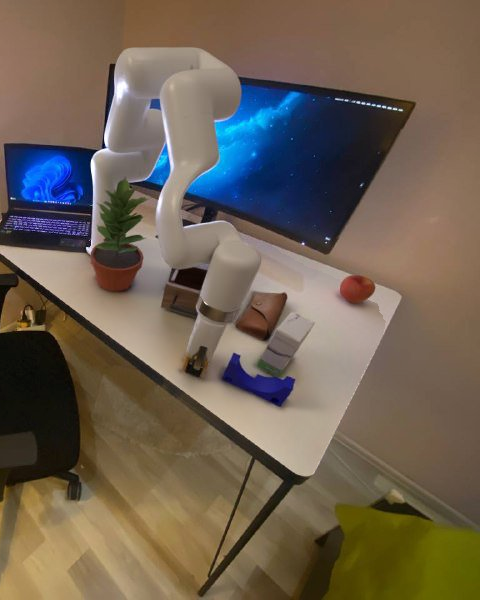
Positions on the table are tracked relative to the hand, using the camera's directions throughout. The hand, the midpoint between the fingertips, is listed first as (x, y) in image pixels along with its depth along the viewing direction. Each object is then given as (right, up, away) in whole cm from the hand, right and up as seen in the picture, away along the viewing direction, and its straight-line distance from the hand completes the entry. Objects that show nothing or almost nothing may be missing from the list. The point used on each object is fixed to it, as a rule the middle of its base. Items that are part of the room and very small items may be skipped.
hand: (194, 364), depth 77 cm
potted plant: (-16, +20, +24) cm, 35 cm away
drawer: (+3, +13, +15) cm, 20 cm away
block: (0, 0, 0) cm, 0 cm away
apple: (+49, +14, +19) cm, 55 cm away
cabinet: (+8, +20, +24) cm, 32 cm away
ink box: (+19, 0, +2) cm, 19 cm away
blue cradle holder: (+11, -4, -3) cm, 12 cm away
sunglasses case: (+22, +10, +14) cm, 28 cm away
